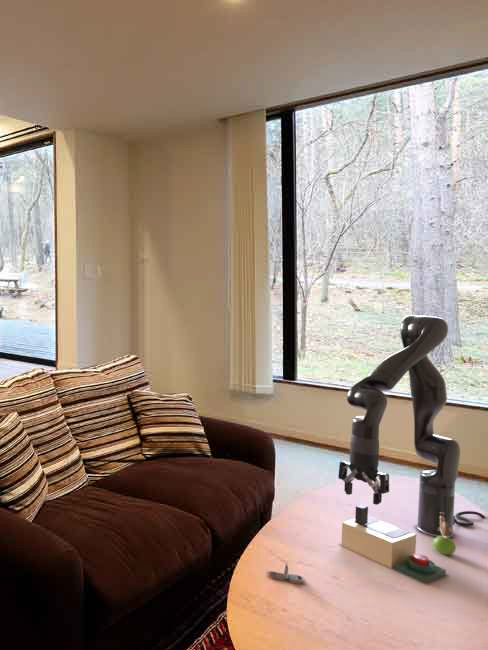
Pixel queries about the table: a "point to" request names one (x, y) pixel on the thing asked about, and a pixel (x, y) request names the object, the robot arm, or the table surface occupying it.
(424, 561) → the button
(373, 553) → the long cream box
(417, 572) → the control block
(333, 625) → the table surface
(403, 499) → the table surface
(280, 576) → the grey elongated piece
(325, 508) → the table surface
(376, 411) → the robot arm
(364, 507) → the slider
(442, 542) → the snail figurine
